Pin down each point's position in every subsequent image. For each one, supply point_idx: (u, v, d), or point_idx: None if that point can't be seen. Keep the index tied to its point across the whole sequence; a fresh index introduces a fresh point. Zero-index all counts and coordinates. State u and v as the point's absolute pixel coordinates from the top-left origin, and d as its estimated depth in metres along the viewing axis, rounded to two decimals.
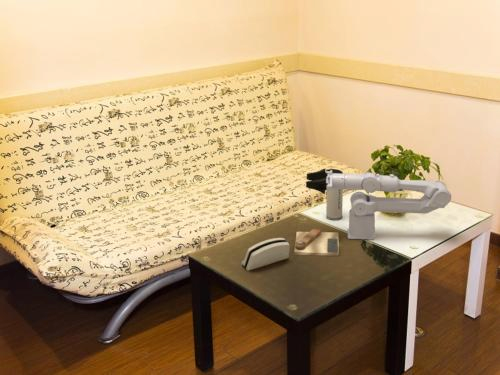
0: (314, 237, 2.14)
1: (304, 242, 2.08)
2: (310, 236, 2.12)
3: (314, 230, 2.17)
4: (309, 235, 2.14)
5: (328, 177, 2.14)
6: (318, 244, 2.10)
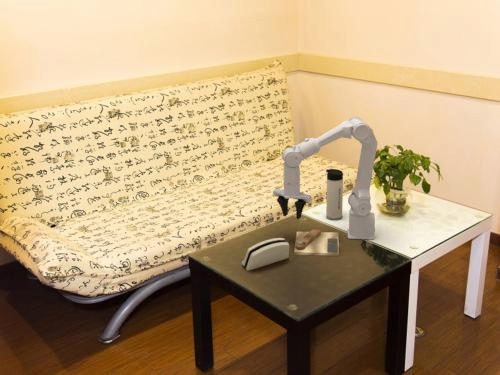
0: (314, 237, 2.14)
1: (304, 242, 2.08)
2: (310, 236, 2.12)
3: (314, 230, 2.17)
4: (309, 235, 2.14)
5: None
6: (318, 244, 2.10)
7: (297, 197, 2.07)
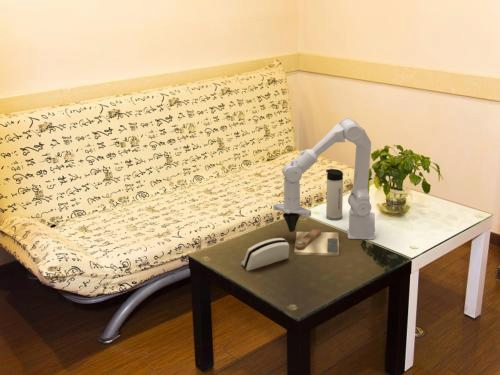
0: (314, 237, 2.14)
1: (304, 242, 2.08)
2: (310, 236, 2.12)
3: (314, 230, 2.17)
4: (309, 235, 2.14)
5: None
6: (318, 244, 2.10)
7: (297, 212, 2.09)
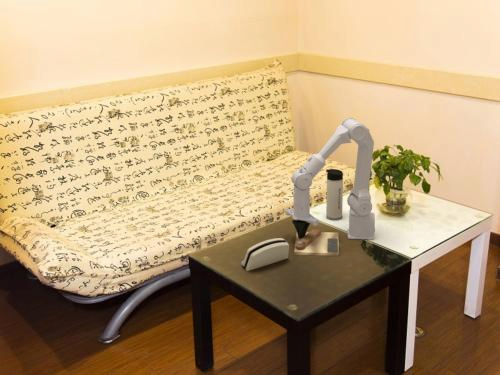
0: (314, 237, 2.14)
1: (304, 242, 2.08)
2: (310, 236, 2.12)
3: (314, 230, 2.17)
4: (309, 235, 2.14)
5: None
6: (318, 244, 2.10)
7: (304, 219, 2.08)
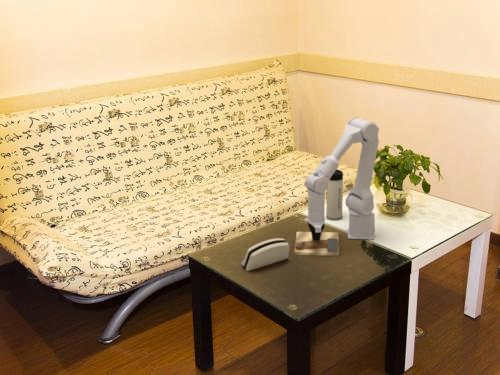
0: (323, 245, 2.07)
1: (304, 244, 2.07)
2: (318, 242, 2.08)
3: None
4: (321, 241, 2.09)
5: None
6: None
7: (311, 223, 2.04)
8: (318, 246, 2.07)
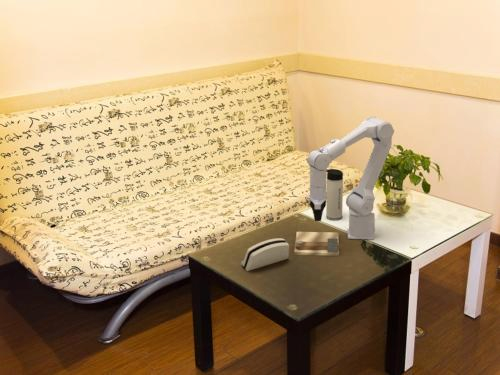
0: (323, 247, 2.06)
1: (304, 244, 2.07)
2: (318, 244, 2.06)
3: None
4: (322, 243, 2.07)
5: None
6: None
7: (312, 200, 2.04)
8: (318, 248, 2.06)
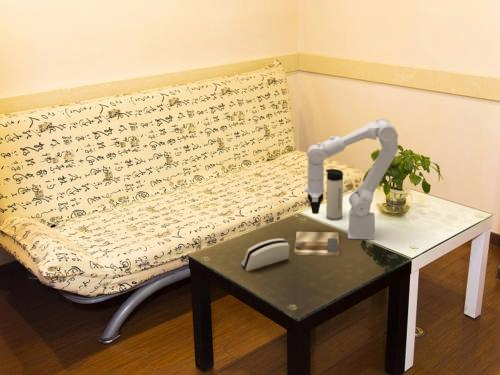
0: (323, 247, 2.06)
1: (304, 244, 2.07)
2: (318, 244, 2.06)
3: None
4: (322, 243, 2.07)
5: None
6: None
7: (309, 193, 2.10)
8: (318, 248, 2.06)
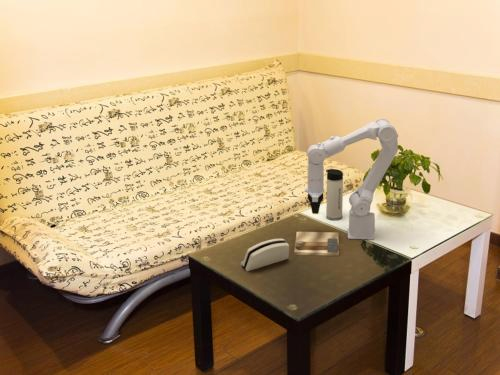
0: (323, 247, 2.06)
1: (304, 244, 2.07)
2: (318, 244, 2.06)
3: None
4: (322, 243, 2.07)
5: None
6: None
7: (309, 193, 2.10)
8: (318, 248, 2.06)
